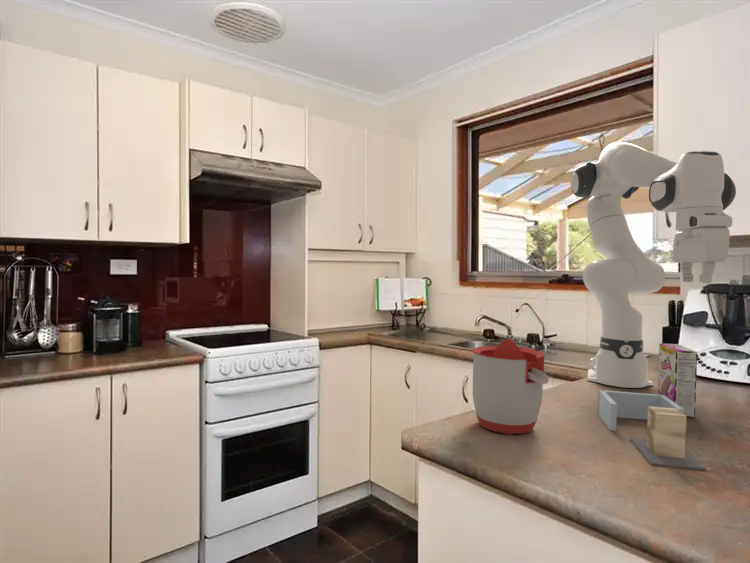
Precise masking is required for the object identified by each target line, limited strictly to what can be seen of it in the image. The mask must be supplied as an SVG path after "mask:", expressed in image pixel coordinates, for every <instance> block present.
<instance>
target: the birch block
mask: <svg viewBox="0 0 750 563" xmlns="http://www.w3.org/2000/svg"><path fill="white" fill-rule="evenodd" d="M646 428H647V429H646V440H647V447H648V448H649V449H650V450H651V451H652V452H653V453H654V455H657V456H667V457H676V458H685V449H686V433H687V417H686V416H685V415H684V414H683V413H681V412H680V411H679V410H677V409H675V408H663V407H650V406H648V420H647V427H646Z"/></svg>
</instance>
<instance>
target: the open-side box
mask: <svg viewBox="0 0 750 563" xmlns="http://www.w3.org/2000/svg"><path fill="white" fill-rule="evenodd" d="M597 395H598V396H597V397H598V399H597V415H598V417H599V418H600V419H601V421H602V422H603V423H604V425H605V426H606V425H607V426H606V428H607V429H608V430H609V431H610V430H611V432H617V419H618V418H622V419H633V420H634V419H636V420H645V421H648V406H650V407H663V408H675V409H677V410H679V411H680V412H681V413H683V414H684V409H683V408H681V407H680V406H679V405H677V404H676V403H674V402H673V401H672V400H670V399H669V398H667V397H666V396H665V395H659V394H658V393H656V394H655V393H646V392H645V393H644V392H629V391H618V390H617V391H616V390H606V389H605V390H603V389H598V394H597Z"/></svg>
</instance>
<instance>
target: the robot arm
mask: <svg viewBox="0 0 750 563" xmlns="http://www.w3.org/2000/svg"><path fill="white" fill-rule="evenodd" d="M639 188H649V190H648V199H649V202H650V204H651V206H652V207H653V209H655V210H656V211H659V212H664V213H665V212H666V213H676V214H675V230H676V231H678V232H676V234H675V235H674V240H673V247H672V261H673V263H675V264H677V263H678V264H680V271H681V274H682V282H683V283H693V282H694V274H693V270H692V268H693V264H694V263H695V264H696V263H701V267H702V270H701V274H700V275H699V283H700V284H711V283H712V279H713V278H712V277H713V274H714V271H715V270H716V263H724V262H725V261H726V260H727V258H728V255H729V248H730V238H731V237H730V236H731V234H730V229H729V228H731V227H732V226H733V217H732V216H731V215H729V214H726V213H725V212H724V210H726V209H728V207H729V206H731V204H732V203H733V202H734V199H735V198H736V194H737V189H736V185H735V183H734V180H733V179H732V177H730V176H729V175H728V174H727V173H725V165H724V161H723V157H722V155H721V153H719V152H716V151H708V150H707V151H704V150H703V151H702V150H701V151H698V150H697V151H688V152H685V153H683V154H682V155H681V156H680V158H679V160H678V162H674V161H672V160H670V159H667V158H665V157H662V156H660V155H657V154H655V153H653V152H651V151H648V150H646V149H645V148H643V147H640V146H638V145H637V144H633V143H628V142H623V141H618V142H616V141H615V142H612V143H610V144H608V145H607V146H605V147H604V148H603V150H602V151H601V153H600V156H599V160H598V161H596V162H591V161H588V162H586V163H584V164H582V165H579V166H577V167H576V168H575V169H574V170H573V171H572V173H571V176H570V189H571V192H572V193H573V194H574V196H575V197H578V198H585V199H586V198H589V199H588V201H587V202H586V219H587V225H588V227H589V228H588V229H589V231H590V235H591V238H592V242H593V245H594V248H595V250H596V251H597V252H598V253H599V254H600V255H602V256H604V257H606V259H599V260H594V261H590V262H589V263H588V264H587V265H586V266H585V268H584V270H583V274H582V281H583V283H584V286H585V288H586V289H587V290H588V291H589V292H591V293H592V295H594V296H595V298H596V300H597V303H598V304H599V307H600V310H601V316H602V317H601V320H602V322H601V323H602V329H601V330H602V333H601V334H602V336H600V340H599V348H600V349H599V350H598V352H597V353H596V355H595V357H592V358H590V360H589V361H590V362H589V365H590V366H592V368H591V369H590V368H589V369H588V370H587V381H589V382H593V383H599V384H603V385H607V386H611V387H612V386H613V387H619V388H627V389H628V388H630V389H631V388H632V389H638V388H639V389H641V388H644V387H649V386H653V385H654V381H652V380H649V366H648V365H649V363H648V361H649V360H648V358H647V357H646V356H645V355H644V354H643V351H644V341H643V339H642V334H643V331H642V330H643V315H642V314H641V312H640V311H639V310H637V308H634V307H633V306H632V305H631V303H630V301H629V295H634V296H635V295H640V296H641V295H647V294H652V293H656V292H659V291H660V290H662V288H663V286H664V285H665V282H666V273H665V270H664V268H663V266H662V265H661V264H659V263H657V262H655V261H654V260H653V259H652V258H650V257H649V256H648V255H647V254H646V253H645V252H644V251H643V250H642V249H641V248H640V247H639V246H638V244H637V243H636V241H635V239H634V238H633V236H632V234H631V230H630V228H629V225H628V222H627V219H626V216H625V214H624V211H623V209H622V206H621V205H622V204H621V200H622V198H623V199H624V200H625V199H626V200H628V199H630V198H631V196H632V194H635V192H637V191H638V190H639Z"/></svg>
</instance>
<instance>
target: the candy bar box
mask: <svg viewBox="0 0 750 563" xmlns="http://www.w3.org/2000/svg"><path fill="white" fill-rule="evenodd" d="M658 346H659V347H658V349H659V350H658V377H657V378H658V379H657V380H658V385H657V394H659V395H665V396H666V397H667V398H669V399H670V400H672V401H673V402H674V403H676V404H677V405H679V406H680V407H681V408H683V409H684V415H685V416H686V418H696V401H697V400H696V399H697V394H696V393H697V372H698V370H697V368H698V366H697V365H698V352H697V351H695V350H694V349H691V348H689V347H686V346H683V345H681V344H679V343H659V345H658Z"/></svg>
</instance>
